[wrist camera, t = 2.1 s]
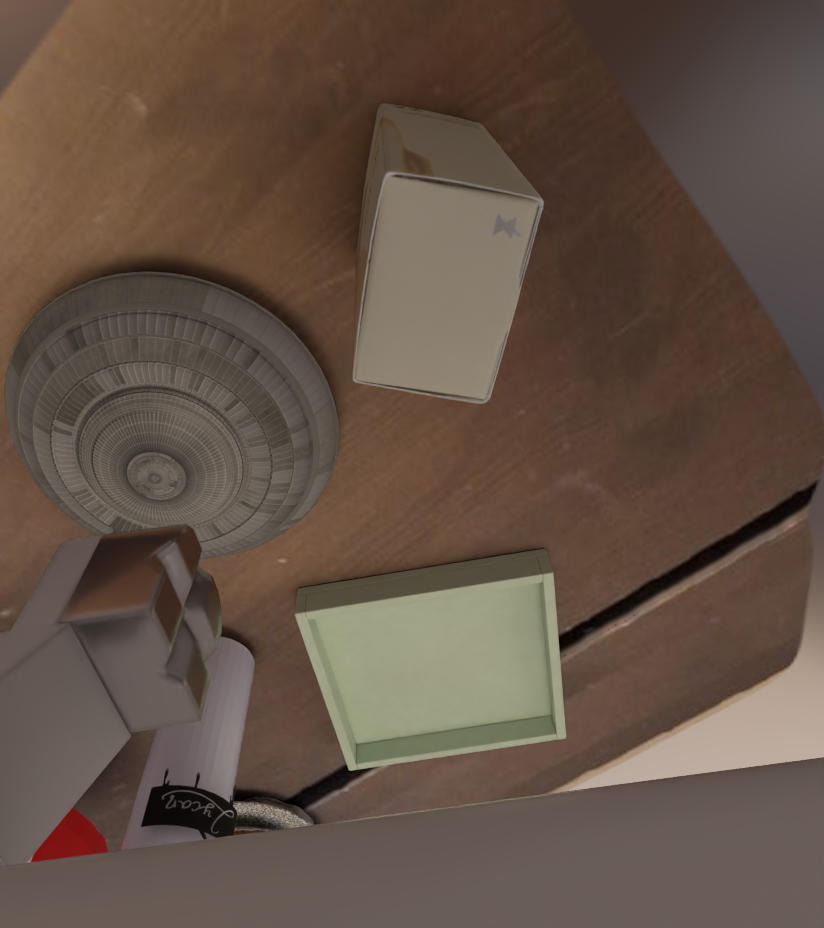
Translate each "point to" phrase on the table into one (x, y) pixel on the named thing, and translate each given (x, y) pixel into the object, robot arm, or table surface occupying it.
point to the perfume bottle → (196, 762)
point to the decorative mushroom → (71, 839)
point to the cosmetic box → (438, 255)
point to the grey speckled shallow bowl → (267, 815)
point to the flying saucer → (171, 411)
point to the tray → (438, 658)
